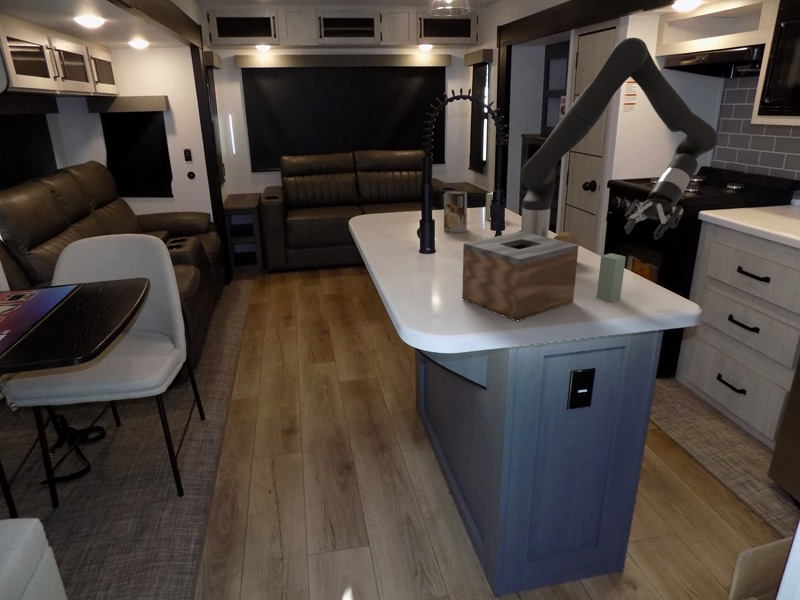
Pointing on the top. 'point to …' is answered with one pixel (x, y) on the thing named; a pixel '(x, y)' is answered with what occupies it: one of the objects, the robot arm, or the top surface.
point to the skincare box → (488, 205)
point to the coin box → (519, 274)
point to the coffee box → (455, 211)
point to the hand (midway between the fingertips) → (640, 234)
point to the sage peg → (610, 277)
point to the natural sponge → (566, 237)
